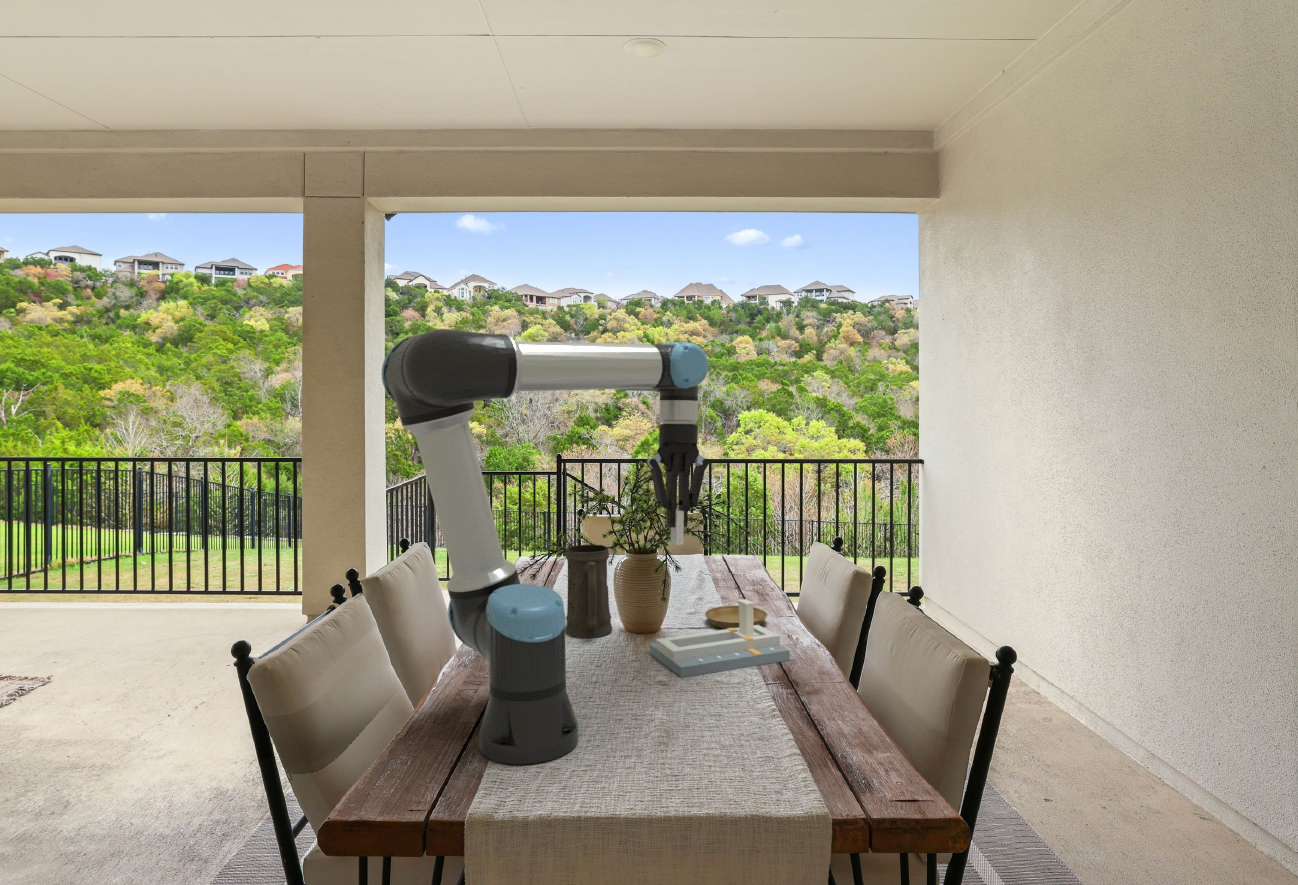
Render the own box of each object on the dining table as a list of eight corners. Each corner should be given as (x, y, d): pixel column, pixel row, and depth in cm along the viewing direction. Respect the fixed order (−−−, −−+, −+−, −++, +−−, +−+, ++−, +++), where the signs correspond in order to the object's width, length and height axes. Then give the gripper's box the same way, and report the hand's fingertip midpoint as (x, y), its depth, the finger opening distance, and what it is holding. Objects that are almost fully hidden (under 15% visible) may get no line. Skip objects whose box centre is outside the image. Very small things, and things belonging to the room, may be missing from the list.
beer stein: (559, 627, 179) (559, 544, 177) (603, 622, 182) (603, 540, 180) (577, 650, 164) (576, 560, 162) (623, 644, 168) (623, 556, 166)
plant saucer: (778, 629, 175) (778, 618, 175) (719, 636, 171) (719, 624, 170) (750, 613, 189) (750, 603, 189) (695, 619, 185) (695, 608, 184)
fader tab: (759, 643, 157) (759, 602, 157) (742, 645, 155) (742, 604, 155) (750, 637, 161) (749, 598, 160) (733, 640, 159) (733, 600, 159)
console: (789, 659, 153) (789, 639, 153) (681, 677, 144) (681, 655, 144) (750, 638, 168) (749, 619, 167) (649, 653, 159) (649, 633, 158)
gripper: (700, 423, 153) (698, 539, 154) (640, 422, 148) (638, 542, 149) (717, 423, 146) (715, 544, 147) (655, 422, 141) (653, 548, 142)
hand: (677, 543), depth 148 cm, fingers closed
